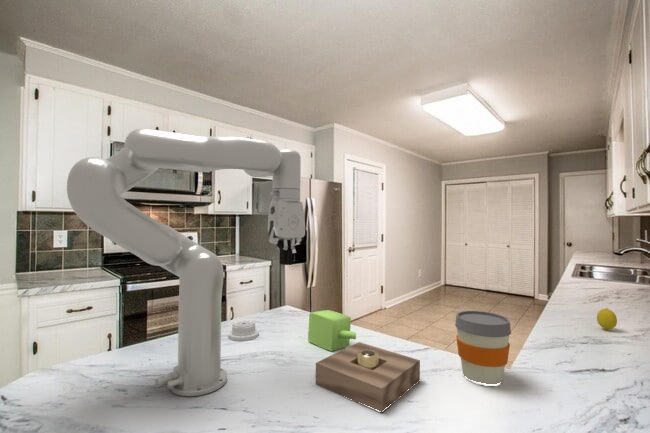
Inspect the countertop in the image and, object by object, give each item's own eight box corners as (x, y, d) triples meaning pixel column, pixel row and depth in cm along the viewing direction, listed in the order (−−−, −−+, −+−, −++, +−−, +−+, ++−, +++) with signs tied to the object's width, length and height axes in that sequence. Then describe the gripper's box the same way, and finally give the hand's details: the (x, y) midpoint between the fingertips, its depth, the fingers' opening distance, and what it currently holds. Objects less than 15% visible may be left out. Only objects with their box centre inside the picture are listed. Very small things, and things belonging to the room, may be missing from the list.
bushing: (371, 390, 74) (371, 359, 75) (353, 383, 78) (353, 353, 78) (382, 382, 78) (382, 352, 78) (365, 375, 81) (365, 347, 82)
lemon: (593, 328, 119) (593, 306, 120) (603, 327, 121) (603, 305, 121) (610, 333, 114) (610, 310, 114) (621, 332, 116) (620, 309, 116)
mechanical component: (224, 341, 104) (255, 342, 104) (224, 328, 104) (255, 328, 104) (233, 331, 114) (261, 331, 114) (233, 318, 114) (261, 319, 114)
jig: (381, 413, 65) (381, 388, 65) (315, 383, 77) (315, 362, 77) (419, 380, 79) (419, 360, 79) (358, 359, 91) (358, 341, 91)
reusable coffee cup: (511, 373, 83) (511, 315, 83) (510, 396, 72) (510, 328, 72) (459, 362, 89) (459, 308, 90) (451, 381, 79) (451, 319, 79)
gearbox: (364, 349, 100) (365, 318, 100) (342, 357, 93) (344, 323, 93) (323, 333, 112) (325, 306, 113) (302, 339, 106) (303, 310, 106)
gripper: (274, 193, 80) (273, 268, 79) (315, 197, 91) (314, 263, 91) (255, 195, 85) (254, 265, 84) (296, 198, 96) (295, 260, 96)
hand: (285, 264), depth 87 cm, fingers closed
